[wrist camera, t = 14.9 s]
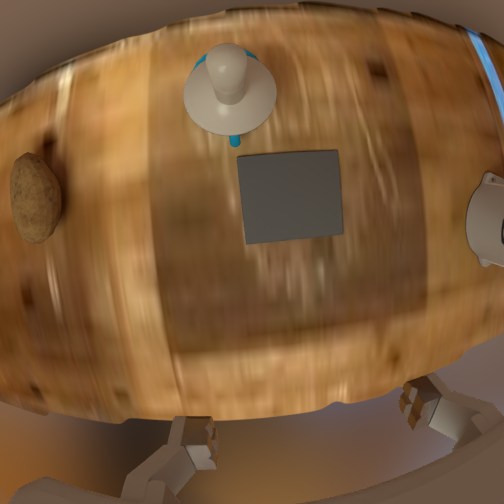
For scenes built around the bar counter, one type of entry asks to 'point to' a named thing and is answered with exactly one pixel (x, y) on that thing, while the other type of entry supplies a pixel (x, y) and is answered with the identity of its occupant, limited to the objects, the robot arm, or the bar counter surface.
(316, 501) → the robot arm
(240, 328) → the bar counter surface
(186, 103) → the white post stand
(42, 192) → the potato
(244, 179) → the mat
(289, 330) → the bar counter surface
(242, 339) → the bar counter surface
